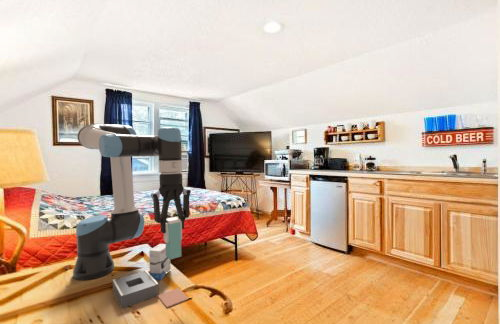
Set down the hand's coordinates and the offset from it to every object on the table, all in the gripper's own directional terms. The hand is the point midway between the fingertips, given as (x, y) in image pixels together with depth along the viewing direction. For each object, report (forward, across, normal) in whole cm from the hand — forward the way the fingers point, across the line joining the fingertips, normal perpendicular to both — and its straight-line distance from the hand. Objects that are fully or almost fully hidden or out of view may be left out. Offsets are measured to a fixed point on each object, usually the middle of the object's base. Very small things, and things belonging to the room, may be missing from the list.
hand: (173, 240), depth 90 cm
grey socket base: (+20, -10, +12) cm, 26 cm away
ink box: (+20, +2, +20) cm, 29 cm away
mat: (+20, 0, 0) cm, 20 cm away
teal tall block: (+6, 0, 0) cm, 6 cm away
